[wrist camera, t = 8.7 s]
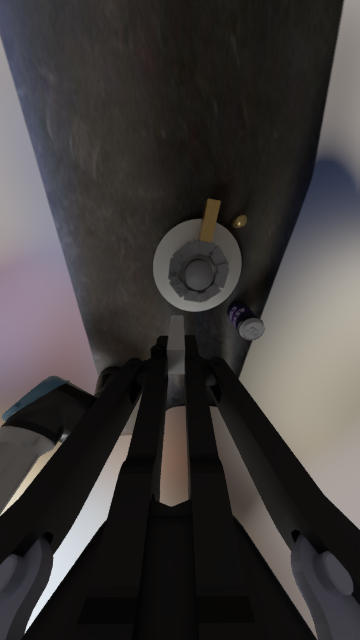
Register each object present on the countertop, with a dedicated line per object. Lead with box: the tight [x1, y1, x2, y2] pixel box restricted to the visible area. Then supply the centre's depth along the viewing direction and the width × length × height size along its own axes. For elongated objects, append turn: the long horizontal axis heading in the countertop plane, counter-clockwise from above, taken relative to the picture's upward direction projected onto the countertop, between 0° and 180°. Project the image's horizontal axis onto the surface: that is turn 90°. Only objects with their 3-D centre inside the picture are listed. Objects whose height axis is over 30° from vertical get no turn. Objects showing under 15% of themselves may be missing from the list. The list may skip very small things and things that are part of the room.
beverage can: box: [227, 302, 265, 340], centre depth 38 cm, size 6×6×12 cm
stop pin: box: [229, 215, 247, 229], centre depth 32 cm, size 2×2×5 cm
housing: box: [153, 219, 242, 311], centre depth 35 cm, size 22×22×8 cm
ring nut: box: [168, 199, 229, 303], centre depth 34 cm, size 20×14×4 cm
